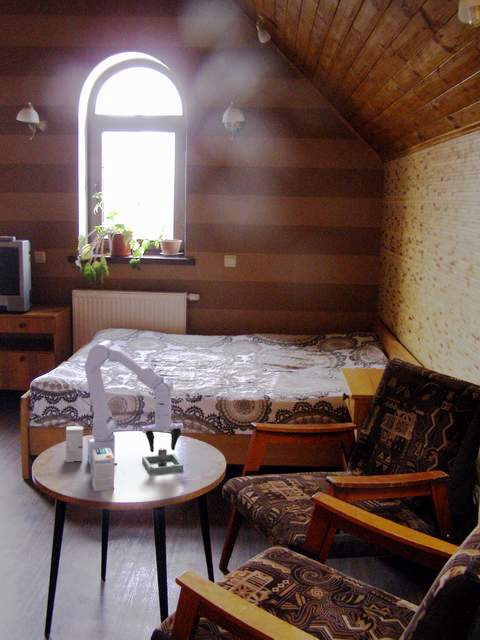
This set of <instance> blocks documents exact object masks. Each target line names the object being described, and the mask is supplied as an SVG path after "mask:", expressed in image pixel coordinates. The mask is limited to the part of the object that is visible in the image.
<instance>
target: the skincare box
mask: <svg viewBox="0 0 480 640" xmlns="http://www.w3.org/2000/svg"><path fill="white" fill-rule="evenodd" d="M83 437H84V426H83V425H79V426H78V425H77V426H76V425H75V426H74V425H73V426H66V429H65V462H66V463H73V462H74V461H81V462H83V455H84V454H83V450H84V449H83V448H84V447H83V446H84V445H83V443H84V438H83Z"/></svg>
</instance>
